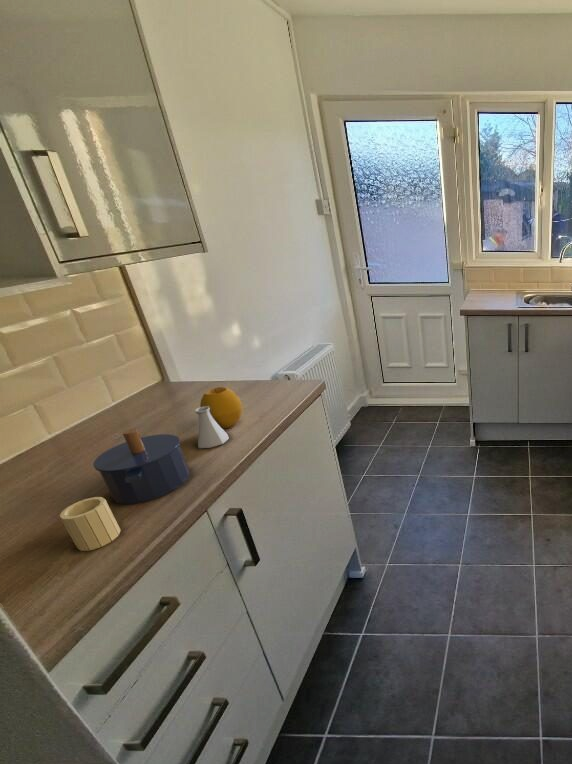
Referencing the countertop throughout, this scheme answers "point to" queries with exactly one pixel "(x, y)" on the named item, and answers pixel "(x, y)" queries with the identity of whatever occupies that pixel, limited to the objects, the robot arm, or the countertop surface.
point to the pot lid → (136, 451)
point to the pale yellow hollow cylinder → (90, 523)
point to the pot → (148, 479)
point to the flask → (209, 429)
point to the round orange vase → (223, 406)
